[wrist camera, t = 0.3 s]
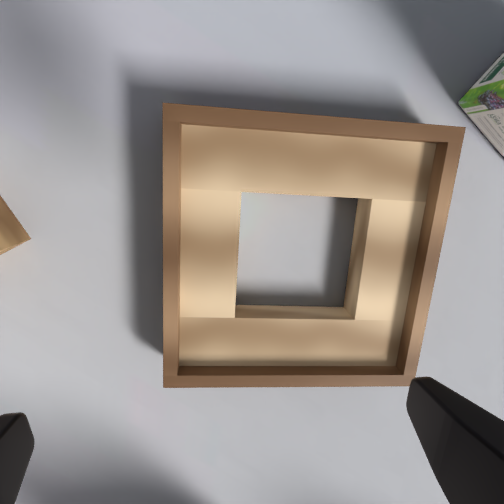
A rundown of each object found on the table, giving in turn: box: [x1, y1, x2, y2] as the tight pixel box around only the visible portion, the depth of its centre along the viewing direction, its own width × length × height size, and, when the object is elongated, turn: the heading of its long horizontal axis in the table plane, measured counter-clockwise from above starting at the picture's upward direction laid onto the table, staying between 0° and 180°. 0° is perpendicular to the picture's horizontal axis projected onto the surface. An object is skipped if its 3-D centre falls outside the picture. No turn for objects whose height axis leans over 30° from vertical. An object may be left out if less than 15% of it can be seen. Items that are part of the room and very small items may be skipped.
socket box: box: [163, 103, 466, 388], centre depth 20 cm, size 16×16×3 cm
